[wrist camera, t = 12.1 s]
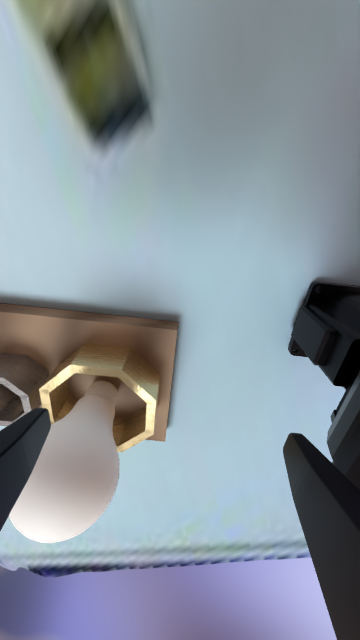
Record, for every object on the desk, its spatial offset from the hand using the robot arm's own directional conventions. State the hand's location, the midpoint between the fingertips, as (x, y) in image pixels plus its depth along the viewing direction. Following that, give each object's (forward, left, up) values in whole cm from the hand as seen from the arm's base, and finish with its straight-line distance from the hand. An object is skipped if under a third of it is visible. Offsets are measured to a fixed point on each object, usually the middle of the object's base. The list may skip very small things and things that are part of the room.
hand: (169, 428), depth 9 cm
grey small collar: (+14, +8, -11) cm, 19 cm away
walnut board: (+9, +8, -12) cm, 17 cm away
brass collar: (+5, +8, -11) cm, 14 cm away
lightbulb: (+6, +8, -11) cm, 15 cm away
